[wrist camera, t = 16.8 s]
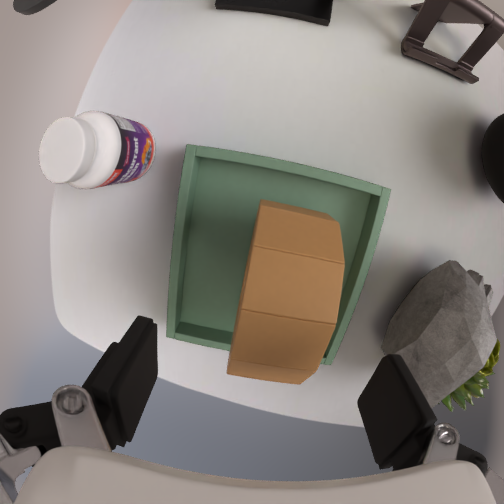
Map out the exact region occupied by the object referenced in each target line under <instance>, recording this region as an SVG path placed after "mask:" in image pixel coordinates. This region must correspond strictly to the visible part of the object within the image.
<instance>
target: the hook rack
mask: <svg viewBox="0 0 504 504" xmlns="http://www.w3.org/2000/svg"><path fill="white" fill-rule="evenodd" d="M332 4H333V0H216V1H215V7H216V9H227V10H241V11H251V12H259V13H267V14H273V15H279V16H285V17H290V18H296V19H300V20H305V21H309V22H313V23H317V24H321V25H325V26H328V25H329V22H330V18H331V11H332Z"/></svg>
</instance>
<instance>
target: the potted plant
mask: <svg viewBox="0 0 504 504" xmlns="http://www.w3.org/2000/svg"><path fill="white" fill-rule="evenodd" d="M492 294H493V290H492V288H491V285H487V284H485V285H484V282H483V276H481V275H479V273H477V272H475V271H473V270H468V271H465V269H464V268H463V267H462V266H461V265H460V264H459V263H458V262H457V261H451V260H449V261H447V262H446V263H444V264H442V265H440V266H439V267H437V268H435V269H433V270H432V271H431V272H429V273H428V274H427V275H426V276H424V277H423V278H422V279H421V280H420V281H418V283H417V284H416V285H415V287H414V288H413V289H412V290H411V292H410V293H409V294H408V296H407V297H406V298H405V299H404V301H403V302H402V303H401V305H400V306H399V308H398V309H397V311H396V313H395V314H394V316H393V317H392V319H391V320H390V322H389V325H388V328H387V332H386V335H385V338H384V341H383V344H382V347H381V349H382V351H383V352H384V354H385V355H387V354H399V355H401V357H402V358H403V360H404V362H405V363H406V365H407V367H408V368H409V370H410V372H411V373H412V375H413V377H414V378H415V380H416V382H417V384H418V385H419V387H420V389H421V391H422V392H423V394H424V396H425V398H426V400H427V401H428V403H429V405H430V407H431V408H432V407H434V406H435V405H436V404H439V402H440V401H442V403H443V404H444V405H445V406H446V407H447V408H448V409H449V410H450V411H451V412H452V409H454V408H453V407H452V405H451V397H452V398H453V400H454V401H455V402H456V403H457V404H459V406H460V407H461V408H463V409H465V410H466V405H465V400H466V401H467V402H469V403H470V404H472V405H473V402H472V399H471V396H473V397H476V398H479V397H483V398H484V396H483V391H482V389H481V388H487V389H489V387H488V386H489V385H488V383H489V382H488V380H487V379H486V378H485V376H489V375H492V374H494V373H493V370H492V368H493V367H494V365H495V364H496V363H497V362H498V359H499V355H498V354H499V351H500V342H499V341H498V339H497V338H496V335H495V332H494V328H493V323H492V319H491V315H490V311H489V305H490V302H491V298H492Z"/></svg>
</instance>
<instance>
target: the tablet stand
mask: <svg viewBox="0 0 504 504" xmlns="http://www.w3.org/2000/svg"><path fill="white" fill-rule="evenodd" d="M411 7H412V8H414V9H416V10H418V11H419V12H418V14H417V16H416V18H415V19H414V21H413V23H412V25H411V27H410V28H409V30H408V32H407V34H406V36H405V37H404V39H403V41H402V45H401V50H402V53H403V54H404V55H407V56H410V57H413V58H415V59H418V60H421V61H423V62H426V63H428V64H430V65H433V66H435V67H437V68H440V69H442V70H444V71H446V72H448V73H450V74H453V75H455V76H457V77H459V78H461V79H463V80H464V81H466V82H468V83H470V84H473V83H475V82H477V81H479V78H478V77H476V76H475V75H473V74H472V73H471V71H472V70H473V67H474V66H475V65H476V64H477V63H478V62H479V61H480V59H481V58H482V57H483V56H484V55H485V54H486V53H487V52H488V51H489V49H490V48H491V47H492V46H493V45H494V44H495V43H496V42H497V40H498V39H499V38H500V37H501V36H502V34H503V33H504V19H503V18H502V17H500V16H499V15H498V14H496V13H495V12H494V11H492V10H491V9H490V8H488V7H487V6H486V5H484V4H483V3H481V2H480V1H478V0H425V1H424V3H419V4H414V5H411ZM438 20H440V21H442V22H444V23H470V24H484V29H483V31H482V32H481V34H480V35H479V36H478V37H477V38H476V40H475V41H474V42H473V43H472V45H471V46H470V47H469V48H468V50H467V51H466V52H465V53H464V54H463V56H462V57H461V58H460V59H459V60H458V62H457V63H455V62H453V61H452V60H449V59H447V58H445V57H443V56H441V55H439V54H437V53H435V52H432V51H430V50H428V49H425V48H423V45H424V42H425V40H426V39H427V37H428V35H429V34H430V32H431V31H432V29H433V28H434V26H435V24H436V23H437V21H438Z"/></svg>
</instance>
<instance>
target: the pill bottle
mask: <svg viewBox="0 0 504 504" xmlns="http://www.w3.org/2000/svg"><path fill="white" fill-rule="evenodd" d="M155 151H156V145H155V140H154V137H153V135H152V133H151V132H150V130H149V129H148V128H147V127H146V126H144V125H143V124H140V123H138V122H135V121H132V120H129V119H125V118H122V117H118V116H115V115H111V114H107V113H104V112H99V111H88V112H84V113H81V114H79V115H78V116H76V117H75V118H72V117H63V118H60V119H57V120H56V121H54V122H53V123H52V124H51V125H50V126H49V127H48V129H47V130H46V132H45V133H44V135H43V138H42V140H41V144H40V148H39V163H40V167H41V170H42V172H43V174H44V176H45V177H46V178H47V179H48V180H49V181H51V182H53V183H57V184H61V183H68V184H70V185H71V186H73V187H75V188H78V189H92V188H97V187H101V186H106V185H112V184H118V183H125V182H130V181H134V180H136V179H138V178H140V177H142V176H143V175H144V174H145V173H146V172H147V171H148V170H149V168H150V167H151V165H152V163H153V160H154V157H155Z"/></svg>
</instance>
